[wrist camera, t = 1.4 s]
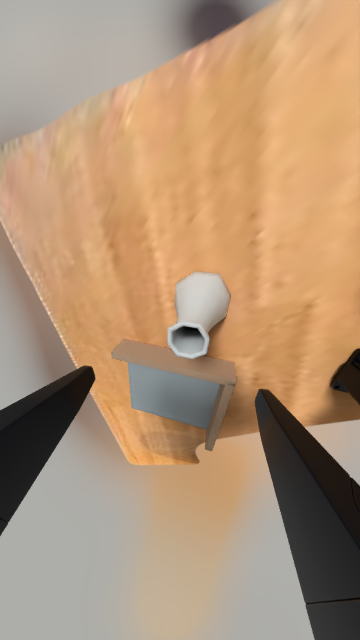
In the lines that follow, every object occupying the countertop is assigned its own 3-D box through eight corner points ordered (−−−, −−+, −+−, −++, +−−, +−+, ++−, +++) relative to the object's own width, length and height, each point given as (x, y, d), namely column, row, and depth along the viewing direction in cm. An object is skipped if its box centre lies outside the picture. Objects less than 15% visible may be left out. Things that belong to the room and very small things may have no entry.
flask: (167, 277, 20) (126, 303, 11) (226, 263, 18) (233, 282, 9) (181, 327, 23) (157, 380, 14) (234, 320, 20) (245, 378, 12)
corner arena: (234, 362, 23) (236, 380, 20) (212, 430, 31) (211, 451, 28) (123, 339, 26) (111, 351, 23) (130, 407, 34) (121, 423, 31)
